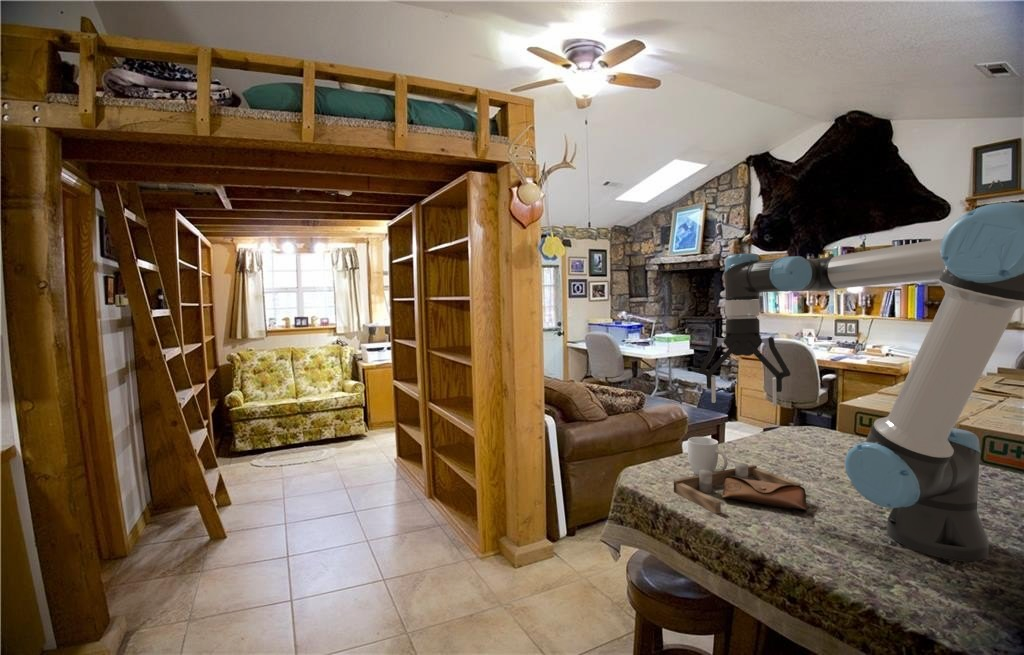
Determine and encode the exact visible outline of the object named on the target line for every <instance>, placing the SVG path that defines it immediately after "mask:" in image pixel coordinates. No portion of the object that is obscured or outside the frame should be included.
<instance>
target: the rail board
mask: <svg viewBox="0 0 1024 655" xmlns="http://www.w3.org/2000/svg"><path fill="white" fill-rule="evenodd" d="M734 465H735V468H730V469H725V470H724V471H718V472H713V473H712V471H710V470H700V471H699V475H693V476H687V477H682V478H677V479H673V493H675V494H678V495H679V496H681V497H683V498H685V499H687V500H689V501H690V502H693V503H694V504H697V505H698V506H700V507H701V508H704V509H706V510H707V511H709V512H710V513H713V514H720V513H722V512H721V510H722V508H721V506H722V505H721V504H722V502H721V501H719V500H717V499H715V498H713V497H711V496H710V495H709V494H711V493H713V487H714V486H718V485H722V484H723V485H724V479H725V477H727V476H734V477H739V478H742V479H749V478H751V477H753V478H755V479H758V480H759V481H764V482H771V483H777V484H784V485H797V486H801V483H798V482H795V481H794V480H793V481H792V480H791V479H788V478H785V477H782V476H780V475H777V474H774V473H771V472H769V471H766V470H764V469H761V468H758V467H757V465H755V464H752V465H748V464H746V463H743V462H737V463H735V464H734ZM801 487H802V486H801ZM698 489H699V490H698Z"/></svg>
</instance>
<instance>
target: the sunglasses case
mask: <svg viewBox="0 0 1024 655" xmlns="http://www.w3.org/2000/svg"><path fill="white" fill-rule="evenodd" d="M806 495H807V493H806V489H805V488H804V487H803V486H797V485H784V484H777V483H771V482H765V481H762V480H756V479H749V478H748V479H742V478H739V477H734V476H727V477H725V479H724V483H723V489H722V495H721V498H723V499H733V500H739V501H744V502H749V503H750V502H751V503H755V504H762V505H766V506H772V507H777V508H784V509H785V508H786V509H798V510H808V508H807V507H808V504H807V496H806Z"/></svg>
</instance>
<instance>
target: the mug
mask: <svg viewBox="0 0 1024 655" xmlns="http://www.w3.org/2000/svg"><path fill="white" fill-rule="evenodd" d="M719 455H720V456H721V457H722V458H723V467H722V468H720V469H718V468H717V465H718V460H719ZM687 456H688V457H687V459H688V462H689V466H690V468H691V471H692V473H693V474H694V475H695V476H697V475H699V471H700V470H710V471H712V473H713V472H718V471H724V470H727V467H728V458H727V455H726V454H725V453H724V451H722V450H720V449H719V441H718V440H717V439H714V438H711V437H706V436H705V437H704V436H693V437H689V438H688V439H687Z"/></svg>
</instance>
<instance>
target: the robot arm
mask: <svg viewBox="0 0 1024 655" xmlns="http://www.w3.org/2000/svg"><path fill="white" fill-rule="evenodd" d="M723 273H724V284H725V286H724V287H725V289H724V290H725V292H724V293H725V304H724V305H725V306H724V307H725V311H724V312H725V317H727V318H726V320H725V337H724V338H722V337H721V338H720V337H717V336H715V337H713V338H712V339H711V346H710V349H709V351H708V352H707V354H706V356H705V358H704V360H703V361H702V363H701V366H700V368H699V370H698V373H699V374H702V375H703V376H706V388H707V389H708V390H710V391H711V403H712V404H715V403H716V402H717V400H716V399H717V393H716V392H717V391H716V390H717V389H716V385H717V384H716V375H713V374H714V373H715V372H716V371H717V370H718V369H719V368H720V367H721V366H722V364H723V363H724V362H725V361H726V360H727V359H728V358H729V357H730V356H731V355H732V354H733V355H734V356H745V357H746V356H747V357H749V356H752V355H754V356H755V357H756V358H757V359H758V360H759V361H760V362H761V363H762V365H764V367H766V368H767V369H768V370H769V372H771V374H772V375H773V376H774V377H772V406H773V407H778V406H777V404H778V403H777V401H778V400H777V393H781V392H782V391H783V387H782V386H783V381H782V380H783V378H787V377H790V376H791V371H790V370H789V368H788V366H787V364H786V363H785V361H784V359H783V358H782V356H781V354H780V352H779V351H778V348H777V347H776V344H775V338H774V337H773V336H769V337H764V338H762V337H761V334H760V319H759V318H758V317H759V316H760V293H775V292H785V293H786V292H828V291H832V290H833V291H834V290H838V289H848V288H856V287H857V288H858V287H867V286H869V287H870V286H877V285H889V284H901V283H911V282H921V281H932V280H938V283H939V284H940V285H941V287H942V289H943V290H944V296H943V298H942V301H941V302H940V305H939V306H938V309H937V312H935V315H934V318H933V320H932V322H931V324H930V326H929V329H928V330H927V333H926V335H925V337H924V339H923V341H922V344H921V346H920V347H919V350H918V352H917V355H916V356H915V358H914V361H913V363H912V364H911V367H910V370H909V371H908V373H907V375H906V377H905V379H904V382H903V384H902V386H901V388H900V390H899V393H898V395H897V397H896V399H895V401H894V404H893V405H892V408H891V410H890V412H889V413H888V416H884V417H880V418H877V419H875V421H874V422H873V424H872V427H871V428H870V430H869V433H868V435H867V437H866V439H865V441H864V442H859V443H857V444H855V445H854V446H853V447H851V448H850V449H849V450H848V452H847V454H846V455H845V460H844V469H845V474H846V475H847V477H848V478H849V480H850V483H851V485H852V486H853V487H854V489H855V490H856V492H858V493H859V494H860V495H861V496H862V497H863V498H864V499H866V500H867V501H869V502H871V503H873V504H874V505H877V506H880V507H883V508H888V509H891V510H890V513H889V515H888V518H887V521H886V532H887V534H888V535H889V537H891V538H892V539H893V540H894V541H896V542H898V543H899V544H901V545H903V546H905V547H907V548H909V549H912V550H914V551H916V552H920V553H922V554H926V555H930V556H933V557H935V558H942V559H946V560H952V561H958V562H959V561H961V562H978V561H982V560H985V559H987V558H988V557H989V554H990V553H989V550H990V549H989V548H990V542H989V539H988V536H987V534H986V532H985V529H984V526H983V524H982V521H981V518H980V516H979V513H978V499H979V498H978V497H979V480H980V479H979V478H980V477H979V476H980V474H979V473H980V457H981V456H980V455H981V454H982V452H981V451H982V450H980V439H979V437H978V436H977V434H975V433H973V432H972V431H968V430H966V429H961V428H957V427H955V425H956V424H957V422H958V420H959V418H960V416H961V414H962V412H963V411H964V408H965V406H966V404H967V402H969V399H970V397H971V395H972V393H973V391H974V390H975V388H976V386H977V383H978V382H979V381H980V378H981V376H982V374H983V372H984V371H985V369H986V367H987V365H988V363H989V361H990V359H991V357H992V355H993V353H994V352H995V350H996V348H997V346H998V344H999V342H1000V341H1001V338H1002V336H1003V334H1004V333H1005V332H1006V331H1005V330H1006V328H1007V327H1008V326H1009V324H1010V321H1011V319H1012V317H1013V315H1014V314H1015V312H1016V311H1017V310H1018V309H1021V308H1023V307H1024V202H1012V201H1008V202H999V203H991V204H985V205H983V206H979V207H977V208H975V209H972V210H970V211H968V212H967V213H965V214H963V215H961V217H959V218H958V219H956V220H955V221H954V222H953V223H952V224H951V225H950V226H949V227H948V229H947V230H946V232H945V233H944V236H943V237H942V238H938V239H933V240H927V241H926V240H925V241H920V242H915V243H914V242H913V243H909V244H902V245H901V244H900V245H895V246H888V247H883V248H877V249H870V250H864V251H859V252H858V251H857V252H851V253H845V254H839V255H834V256H833V255H832V256H826V257H820V258H805V257H804V256H799V255H798V256H797V255H796V256H793V255H792V256H787V255H786V256H783V257H778V258H771V259H764V260H761V259H760V257H759V255H758V254H757V253H752V252H751V253H747V252H746V253H737V254H731V255H728V256H727V257H726V258H725V263H724V272H723ZM722 344H724V345H725V347H727V350H726V351H725V352H724V353H723V354H722V355H721V357H720V358H719V359H718V360H717V361H716V362H715V363H714V364H713V365H712V366H711V367H710V368H709V370H708V369H707V368H708V366H709V364H710V362H711V361H712V358H713V356H714V354H715V352H716V351H717V348H718V347H720V346H721V345H722ZM762 344H764V345H765V347H767V348H769V350H770V352H771V354H772V355H773V356H774V358H775V360H776V362H777V364H778V366H779V368H780V369H781V370H782V371H779V370H778V369H777V368H776V367H775V365H773V364H772V363H771V361H770V360H769V359H768V358H767V357H766V356H765V355H764V354H763V353H762V352H761V351H760V349H759V348H760V346H761V345H762Z"/></svg>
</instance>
